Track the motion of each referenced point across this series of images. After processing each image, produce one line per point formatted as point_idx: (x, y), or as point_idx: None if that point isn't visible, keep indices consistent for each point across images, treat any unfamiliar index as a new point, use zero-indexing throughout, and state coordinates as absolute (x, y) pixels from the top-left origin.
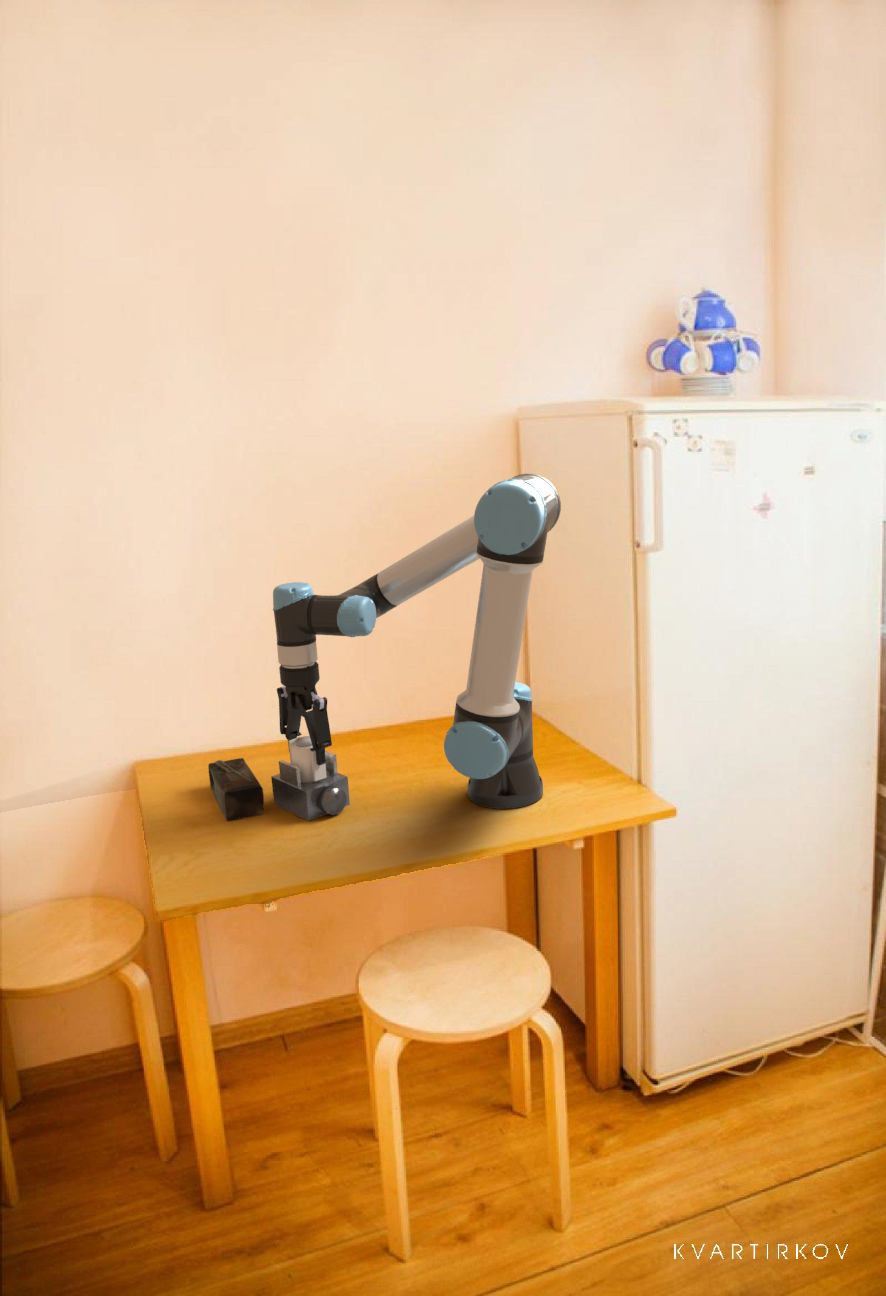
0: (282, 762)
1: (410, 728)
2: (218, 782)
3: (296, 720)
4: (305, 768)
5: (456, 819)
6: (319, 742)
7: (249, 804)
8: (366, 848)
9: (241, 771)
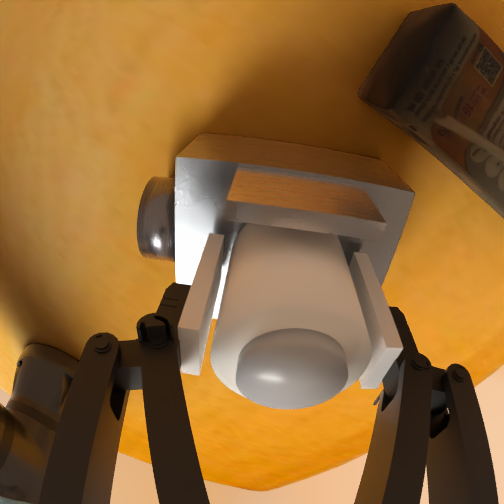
0: (358, 221)
1: (342, 454)
2: None
3: (374, 467)
4: (245, 252)
5: (25, 301)
6: (93, 363)
7: (387, 56)
8: (8, 136)
9: None
